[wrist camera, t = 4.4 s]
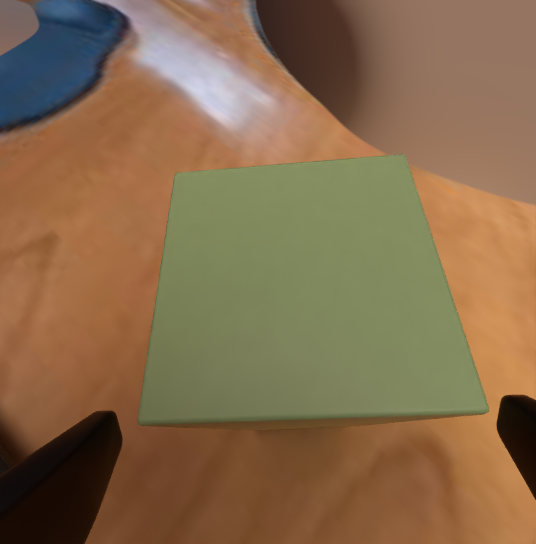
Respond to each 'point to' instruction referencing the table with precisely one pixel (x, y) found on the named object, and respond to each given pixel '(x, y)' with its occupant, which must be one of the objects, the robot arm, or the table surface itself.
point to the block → (304, 303)
